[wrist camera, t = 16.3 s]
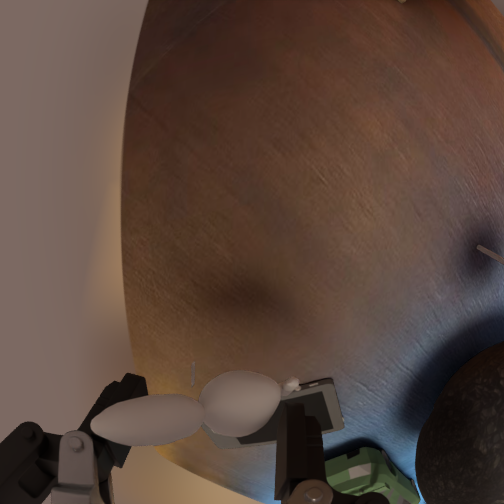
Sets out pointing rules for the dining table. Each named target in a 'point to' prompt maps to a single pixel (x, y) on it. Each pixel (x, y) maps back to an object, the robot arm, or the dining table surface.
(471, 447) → the decorative sphere
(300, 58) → the dining table surface
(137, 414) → the rabbit figurine
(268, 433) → the smartphone
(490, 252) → the lollipop
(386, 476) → the toy car
